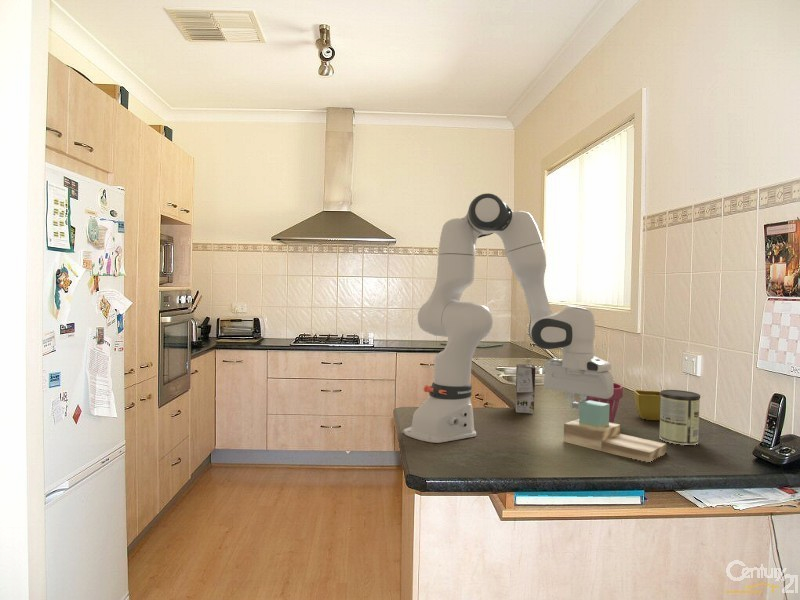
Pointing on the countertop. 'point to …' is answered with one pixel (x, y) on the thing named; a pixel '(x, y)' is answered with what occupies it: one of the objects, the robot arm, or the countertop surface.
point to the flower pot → (648, 404)
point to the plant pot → (610, 400)
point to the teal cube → (594, 414)
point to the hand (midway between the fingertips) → (576, 408)
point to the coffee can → (679, 417)
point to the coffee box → (525, 388)
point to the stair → (612, 441)
